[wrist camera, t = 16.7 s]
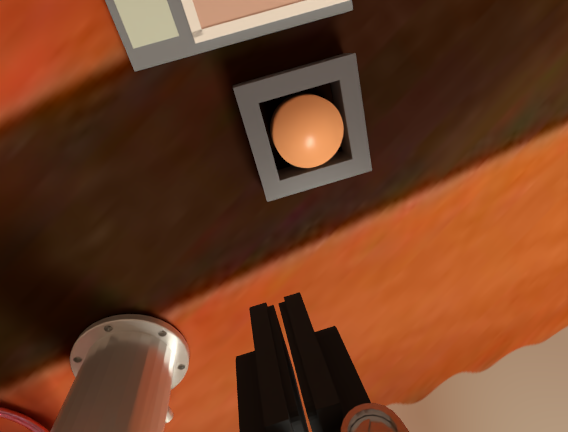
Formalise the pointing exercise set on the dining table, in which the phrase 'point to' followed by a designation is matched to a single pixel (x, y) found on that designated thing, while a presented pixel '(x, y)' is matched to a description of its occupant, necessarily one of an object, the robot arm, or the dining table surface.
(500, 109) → the dining table surface
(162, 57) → the picture board
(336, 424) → the robot arm
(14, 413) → the spiral basket
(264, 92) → the button housing
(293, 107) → the button
